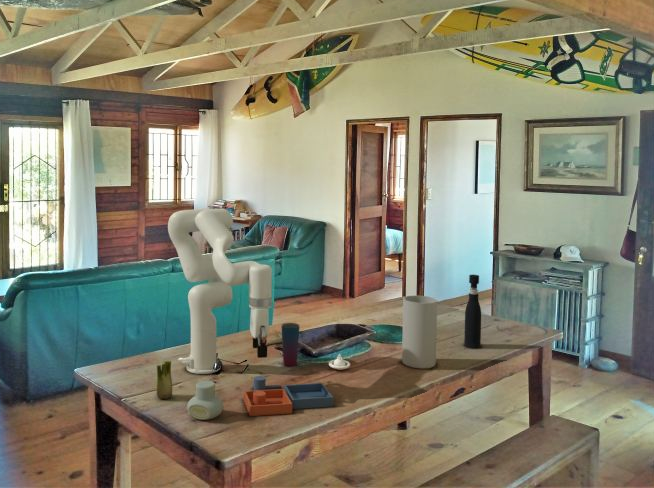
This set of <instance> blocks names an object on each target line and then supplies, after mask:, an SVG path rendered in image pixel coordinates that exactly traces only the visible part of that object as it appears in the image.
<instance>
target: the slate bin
mask: <svg viewBox="0 0 654 488" xmlns="http://www.w3.org/2000/svg"><path fill="white" fill-rule="evenodd" d="M283 389H284V390H285V392H286V394H287V395H288V397H289V399H290V401H291V402H292V410H300V409H312V408H314V409H315V408H329V407H334V396H333V395H332V393H331V392H330V391H329V389H328V388H327V387H326V385H325V384H324V383H323V382H315V383H297V384H284V385H283Z"/></svg>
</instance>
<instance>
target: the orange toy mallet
mask: <svg viewBox="0 0 654 488" xmlns="http://www.w3.org/2000/svg"><path fill="white" fill-rule="evenodd" d="M270 404H282V401H281V400H280V401H266V393H265V392H264V391H255V392H254V393H253V406H254V405H270Z"/></svg>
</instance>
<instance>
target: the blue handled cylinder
mask: <svg viewBox="0 0 654 488" xmlns="http://www.w3.org/2000/svg"><path fill="white" fill-rule="evenodd" d="M266 379H267V378H266V377H265V376H262V375H256V376H254V377H253V391H255V390H271V389H282V385H281V384H270V385H266V382H267V381H266Z"/></svg>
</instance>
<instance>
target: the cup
mask: <svg viewBox="0 0 654 488" xmlns="http://www.w3.org/2000/svg"><path fill="white" fill-rule="evenodd" d="M281 333H282V362H283V366H286V367H295V366H297V363H298V350H299V336H300V324H299V323H296V322H284V323H281Z"/></svg>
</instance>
